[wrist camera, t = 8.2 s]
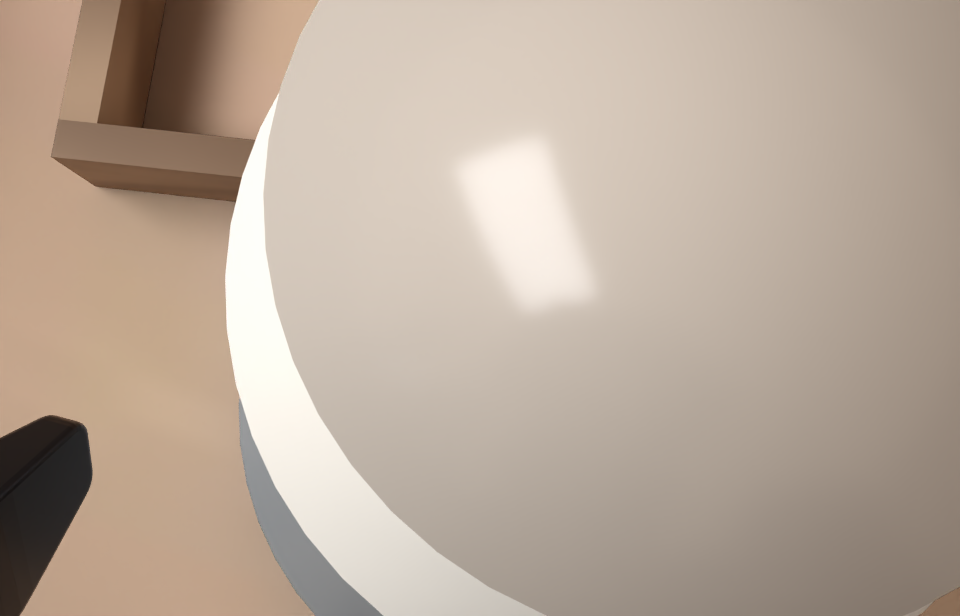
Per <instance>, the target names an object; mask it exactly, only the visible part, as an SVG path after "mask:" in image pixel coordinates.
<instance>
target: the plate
mask: <svg viewBox="0 0 960 616" xmlns="http://www.w3.org/2000/svg"><path fill="white" fill-rule="evenodd" d="M239 422H240V446H241V452H242V458H243V464H244V470H245V476H246V482H247V486H248V489H249V492H250V496H251V499H252V502H253V505H254V509H255V512H256V515H257V519H258V522H259V524H260V526H261V528H262V531H263V533H264V535H265V537H266V539H267V542H268V544H269V546H270V548H271V550H272V553H273V555H274V557H275V559H276V561H277V562H278V564H279V565H280V567H281V569H282V570H283V572H284V573H285V575H286V577H287V578H288V580H289V581H290V583H291V585H292V586H293V588H294V589H295V591H296V593H297V594H298V595H299V596H300V597H301V599H302V600H303V601H304V602H305V604H306V605H307V606H308V607H309V608H310V610H311V611H312V612H313V613H314V614H315V616H383V615H382V614H381V613H380V612H379V611H378V610H377V609H376V608H374V607H373V606H372V605H371V604H370V603H369V602H368V601H367V600H366V599H365V598H363V597H362V596H361V595H360V594H359V593H358V592H357V591H356V590H355V589H354V588H352V587H351V586H350V585H349V584H348V583H347V582H346V581H345V580H344V579H343V578H342V577H341V576H340V575H339V574H338V573H337V571H336V570H335V569H334V568H333V567H332V565H331V564H330V563H329V562H328V561H327V559H326V558H325V557H324V556H323V555H322V554H321V552H320V551H319V550H318V549H317V548H316V546H315V545H314V544H313V543H312V542H311V540H310V539H309V538H308V537H307V536H306V535H305V533H304V531H303V530H302V528H301V527H300V525H299V523H298V522H297V520H296V519H295V517H294V516H293V514H292V512H291V511H290V509H289V508H288V506H287V505H286V503H285V501H284V500H283V498H282V497H281V495H280V494H279V492H278V490H277V489H276V487H275V485H274V483H273V481H272V479H271V476H270V474H269V472H268V470H267V468H266V466H265V463H264V461H263V459H262V457H261V455H260V453H259V450H258V448H257V446H256V444H255V442H254V440H253V437H252V435H251V431H250V428H249V425H248V422H247V418H246V415H245V412H244V409H243V405H242V402H241V399H239Z"/></svg>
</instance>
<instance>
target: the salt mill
mask: <svg viewBox="0 0 960 616" xmlns="http://www.w3.org/2000/svg"><path fill="white" fill-rule="evenodd" d="M225 283H226V314H227V333H228V339H229V345H230V351H231V357H232V363H233V369H234V375H235V381H236V386H237V389H238V392H239V396H240V399H241V402H242V405H243V409H244V412H245V415H246V418H247V422H248V425H249V428H250V431H251V435H252V437H253V440H254V442H255V444H256V446H257V448H258V450H259V453H260V455H261V457H262V459H263V461H264V463H265V466H266V468H267V470H268V472H269V474H270V476H271V479H272V481H273V483H274V485H275V487H276V489H277V490H278V492H279V494H280V495H281V497H282V498H283V500H284V501H285V503H286V505H287V506H288V508H289V509H290V511H291V512H292V514H293V516H294V517H295V519H296V520H297V522H298V523H299V525H300V527H301V528H302V530H303V531H304V533H305V535H306V536H307V537H308V538H309V539H310V540H311V542H312V543H313V544H314V545H315V546H316V548H317V549H318V550H319V551H320V552H321V554H322V555H323V556H324V557H325V558H326V559H327V561H328V562H329V563H330V564H331V565H332V567H333V568H334V569H335V570H336V571H337V573H338V574H339V575H340V576H341V577H342V578H343V579H344V580H345V581H346V582H347V583H348V584H349V585H350V586H351V587H352V588H354V589H355V590H356V591H357V592H358V593H359V594H360V595H361V596H362V597H363V598H365V599H366V600H367V601H368V602H369V603H370V604H371V605H372V606H373V607H374V608H376V609H377V610H378V611H379V612H380V613H381V614H382V615H383V616H919V615H920V614H921V613H923V612H924V611H925V610H926V609H927V608H928V607H929V606H930V605H931V604H932V603H933V602H934V601H935V600H936V599H938V598H940V597H942V596H944V595H946V594H947V593H949V592H951V591H953V590H955V589H957V588H958V587H960V0H319V1H318V3H317V5H316V7H315V9H314V11H313V12H312V14H311V16H310V18H309V20H308V22H307V24H306V25H305V27H304V29H303V31H302V33H301V35H300V37H299V39H298V42H297V45H296V47H295V50H294V53H293V55H292V58H291V61H290V63H289V66H288V68H287V71H286V74H285V76H284V79H283V82H282V84H281V88H280V92H279V94H278V96H277V98H276V99H275V101H274V103H273V105H272V107H271V109H270V111H269V112H268V114H267V116H266V118H265V120H264V122H263V124H262V125H261V128H260V130H259V133H258V135H257V138H256V141H255V143H254V146H253V149H252V151H251V154H250V156H249V159H248V162H247V164H246V167H245V170H244V172H243V175H242V179H241V183H240V188H239V192H238V196H237V200H236V205H235V209H234V213H233V217H232V221H231V226H230V236H229V246H228V256H227V266H226V276H225Z"/></svg>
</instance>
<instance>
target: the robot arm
mask: <svg viewBox="0 0 960 616" xmlns="http://www.w3.org/2000/svg"><path fill="white" fill-rule="evenodd" d="M91 481H92V463H91V455H90V447H89V440H88V433H87V429H86V428H85V426H84V425H83V424H82V423H80V422H77V421H73V420H70V419H66V418H63V417H59V416H54V415H48V416H45V417H42V418H39V419H37V420H35V421H33V422H31V423H29V424H27V425H25V426H23V427H21V428H19V429H17V430H15V431H13V432H11V433H9V434H7V435H5V436H3V437H1V438H0V616H20V614H21V613H22V611H23V610H24V608H25V606H26V604H27V603H28V601H29V599H30V597H31V596H32V594H33V592H34V590H35V589H36V587H37V585H38V583H39V581H40V579H41V577H42V576H43V574H44V572H45V570H46V568H47V566H48V565H49V563H50V561H51V559H52V557H53V555H54V554H55V552H56V550H57V548H58V546H59V544H60V542H61V541H62V539H63V537H64V535H65V533H66V531H67V530H68V528H69V526H70V524H71V522H72V520H73V518H74V517H75V515H76V513H77V511H78V509H79V507H80V506H81V504H82V502H83V500H84V498H85V496H86V494H87V492H88V490H89V488H90V485H91Z"/></svg>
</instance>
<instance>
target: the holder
mask: <svg viewBox="0 0 960 616" xmlns="http://www.w3.org/2000/svg"><path fill="white" fill-rule="evenodd" d="M165 2H166V0H83V1H82V6H81V11H80V16H79V21H78V25H77V30H76V35H75V40H74V45H73V50H72V55H71V60H70V65H69V70H68V75H67V80H66V85H65V90H64V95H63V99H62V104H61V109H60V114H59V119H58V124H57V129H56V134H55V139H54V144H53V149H52V154H51V157H52V158H54V159H55V160H57V161H58V162H60V163H61V164H63V165H64V166H66V167H67V168H69V169H70V170H72V171H73V172H75V173H76V174H78V175H79V176H81V177H82V178H84V179H85V180H87V181H88V182H90V183H91V184H93V185H94V186H97V187H106V188H116V189H125V190H134V191H143V192H153V193H162V194H171V195H180V196H189V197H199V198H208V199H217V200H226V201H235V202H236V200H237V196H238V192H239V188H240V183H241V179H242V175H243V172H244V170H245V167H246V164H247V162H248V159H249V156H250V154H251V151H252V149H253V146H254V143H255V141H256V140H249V139H240V138H231V137H221V136H212V135H202V134H193V133H183V132H174V131H165V130H155V129H146V128H142V126H143V121H144V115H145V110H146V104H147V99H148V94H149V88H150V83H151V78H152V72H153V67H154V62H155V56H156V51H157V45H158V40H159V35H160V29H161V24H162V19H163V13H164V8H165Z"/></svg>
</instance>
